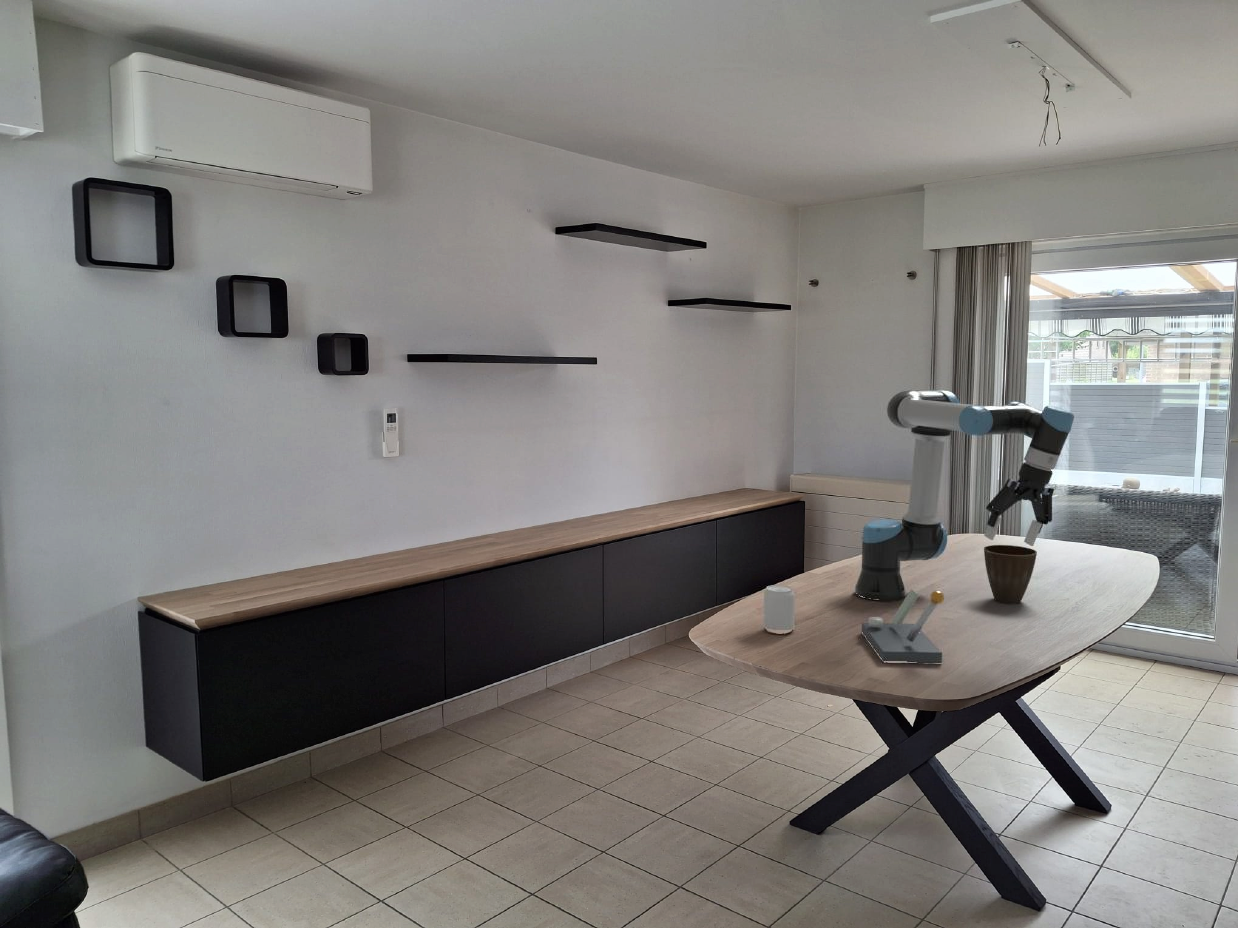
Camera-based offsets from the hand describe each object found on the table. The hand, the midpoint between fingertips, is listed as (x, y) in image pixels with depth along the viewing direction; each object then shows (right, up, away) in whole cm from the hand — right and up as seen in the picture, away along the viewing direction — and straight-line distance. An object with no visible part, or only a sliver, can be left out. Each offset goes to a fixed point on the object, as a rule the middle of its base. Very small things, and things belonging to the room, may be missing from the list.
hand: (1008, 541), depth 231 cm
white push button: (-35, -23, 0) cm, 42 cm away
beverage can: (-59, -25, +7) cm, 65 cm away
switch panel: (-31, -27, -7) cm, 42 cm away
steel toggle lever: (-31, -24, -14) cm, 42 cm away
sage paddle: (-31, -23, 0) cm, 38 cm away
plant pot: (+17, -22, +39) cm, 47 cm away
